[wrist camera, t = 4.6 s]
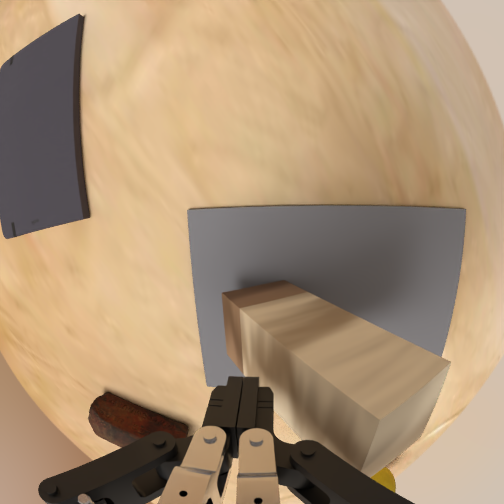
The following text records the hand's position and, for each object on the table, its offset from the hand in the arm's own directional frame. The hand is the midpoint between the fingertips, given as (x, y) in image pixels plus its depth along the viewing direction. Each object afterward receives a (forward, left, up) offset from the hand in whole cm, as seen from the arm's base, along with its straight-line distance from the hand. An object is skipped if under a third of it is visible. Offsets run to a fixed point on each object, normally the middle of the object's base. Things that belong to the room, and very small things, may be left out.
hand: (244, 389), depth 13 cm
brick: (+14, -13, -10) cm, 22 cm away
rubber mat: (0, +7, -10) cm, 12 cm away
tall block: (0, 0, -8) cm, 8 cm away
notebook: (-18, -21, -11) cm, 30 cm away
